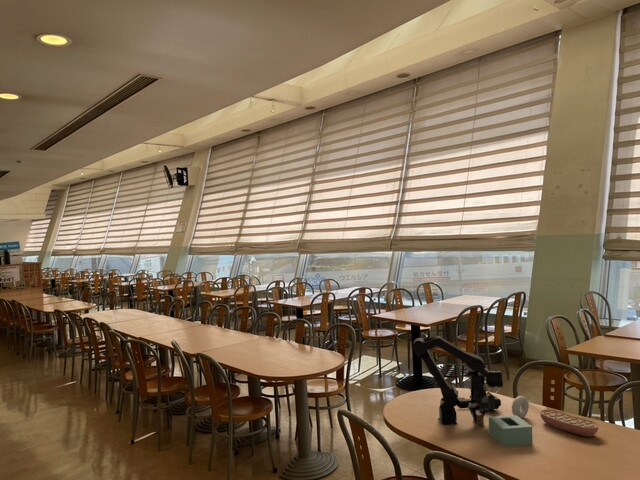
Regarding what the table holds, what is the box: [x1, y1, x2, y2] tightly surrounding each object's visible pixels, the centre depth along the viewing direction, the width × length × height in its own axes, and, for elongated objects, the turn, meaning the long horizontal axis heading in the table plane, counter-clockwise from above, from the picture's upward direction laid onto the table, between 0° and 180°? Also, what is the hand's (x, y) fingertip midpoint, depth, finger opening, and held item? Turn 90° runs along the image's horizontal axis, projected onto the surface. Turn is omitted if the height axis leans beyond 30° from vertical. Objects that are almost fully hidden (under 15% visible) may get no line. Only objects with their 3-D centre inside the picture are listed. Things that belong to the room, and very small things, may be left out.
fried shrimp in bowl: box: [465, 391, 500, 412], centre depth 220 cm, size 9×11×18 cm
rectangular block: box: [472, 410, 485, 428], centre depth 203 cm, size 2×5×5 cm, turn 6°
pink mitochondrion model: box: [539, 409, 599, 438], centre depth 195 cm, size 23×10×5 cm, turn 35°
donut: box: [511, 395, 530, 420], centre depth 208 cm, size 10×4×10 cm, turn 124°
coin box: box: [488, 414, 534, 448], centre depth 188 cm, size 12×12×7 cm
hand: (478, 421), depth 203 cm, fingers closed on rectangular block, 2 cm apart
